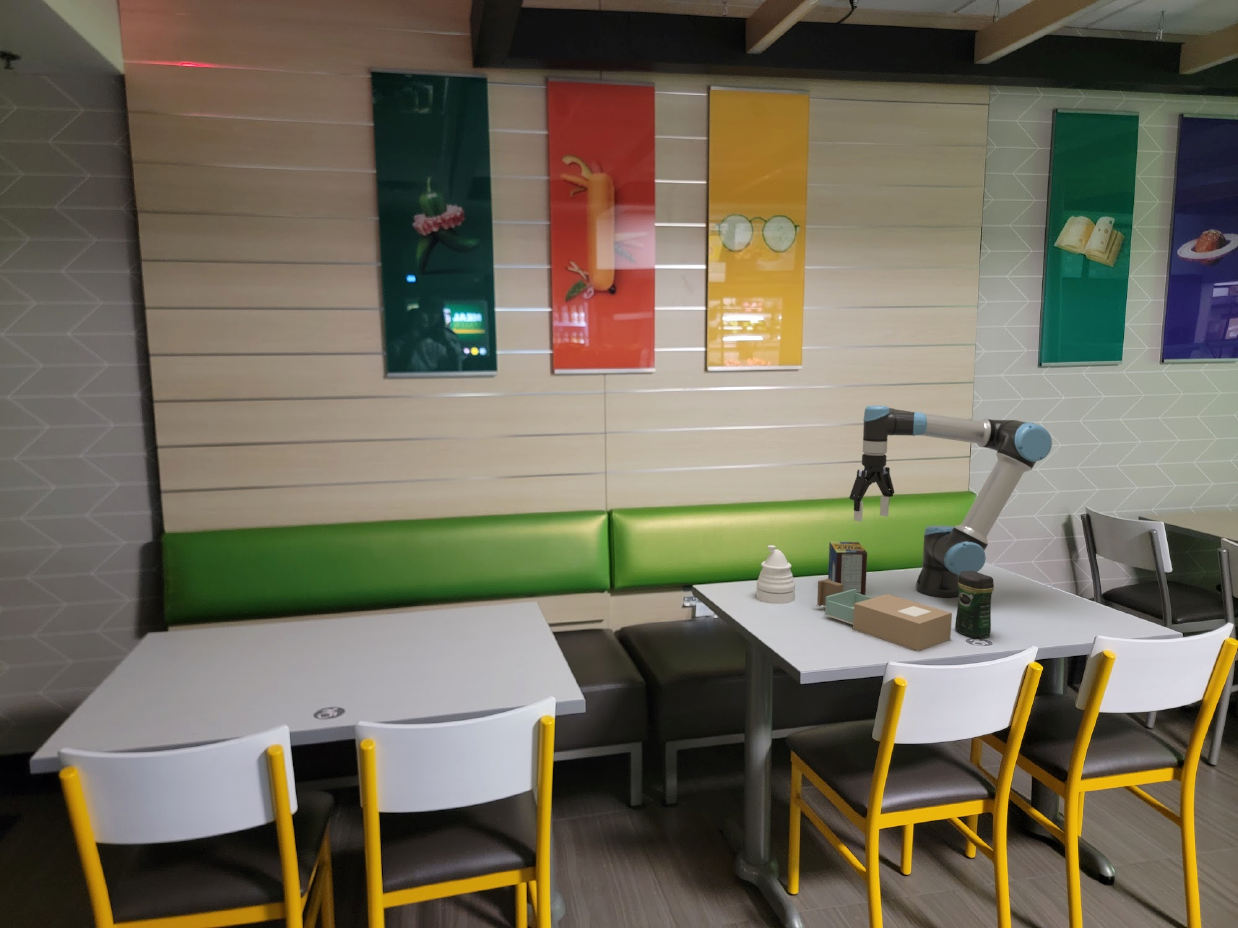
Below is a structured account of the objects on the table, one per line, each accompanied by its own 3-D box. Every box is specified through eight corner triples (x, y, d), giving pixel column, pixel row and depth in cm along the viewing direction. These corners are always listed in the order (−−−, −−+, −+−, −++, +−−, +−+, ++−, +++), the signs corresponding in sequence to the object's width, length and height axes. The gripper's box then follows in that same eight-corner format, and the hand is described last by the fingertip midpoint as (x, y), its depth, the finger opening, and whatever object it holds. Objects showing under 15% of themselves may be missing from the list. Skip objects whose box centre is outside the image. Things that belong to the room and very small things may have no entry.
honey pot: (765, 604, 266) (767, 551, 263) (750, 593, 278) (751, 542, 276) (801, 602, 269) (803, 549, 266) (784, 590, 281) (786, 540, 279)
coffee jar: (995, 637, 237) (1000, 575, 234) (974, 640, 234) (978, 578, 232) (970, 626, 246) (974, 567, 243) (949, 629, 243) (953, 569, 241)
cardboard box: (885, 618, 253) (886, 593, 251) (950, 639, 235) (952, 612, 234) (852, 628, 243) (854, 603, 242) (917, 651, 226) (919, 623, 224)
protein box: (857, 583, 290) (859, 541, 288) (865, 596, 275) (867, 552, 273) (827, 582, 291) (829, 540, 289) (834, 595, 276) (836, 551, 274)
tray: (836, 601, 266) (837, 576, 265) (911, 625, 244) (912, 597, 243) (807, 609, 258) (808, 583, 257) (882, 634, 236) (884, 606, 235)
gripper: (888, 449, 271) (884, 511, 274) (839, 455, 256) (837, 520, 259) (907, 452, 265) (904, 515, 268) (859, 458, 250) (856, 525, 253)
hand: (871, 518), depth 263 cm, fingers open, 13 cm apart
